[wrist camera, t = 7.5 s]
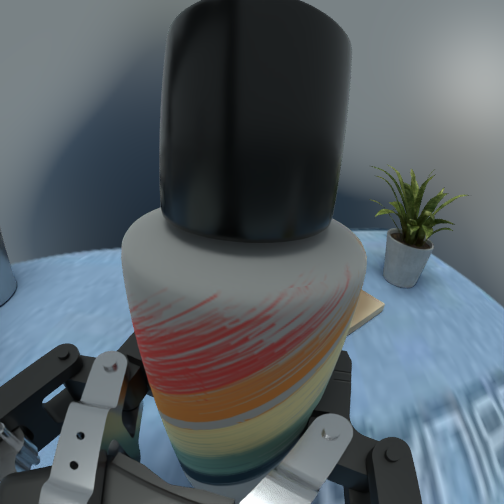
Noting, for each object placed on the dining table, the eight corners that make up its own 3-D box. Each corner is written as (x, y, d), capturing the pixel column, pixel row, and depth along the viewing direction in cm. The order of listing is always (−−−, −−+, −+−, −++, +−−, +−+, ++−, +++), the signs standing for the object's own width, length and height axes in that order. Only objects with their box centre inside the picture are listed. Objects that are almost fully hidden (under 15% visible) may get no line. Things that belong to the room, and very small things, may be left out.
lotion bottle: (198, 423, 16) (185, 51, 7) (283, 437, 15) (364, 62, 6) (174, 493, 11) (63, -4, 2) (272, 512, 10) (451, -12, 1)
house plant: (327, 258, 40) (344, 146, 33) (390, 248, 45) (408, 157, 37) (391, 314, 28) (431, 171, 21) (449, 290, 33) (481, 182, 25)
